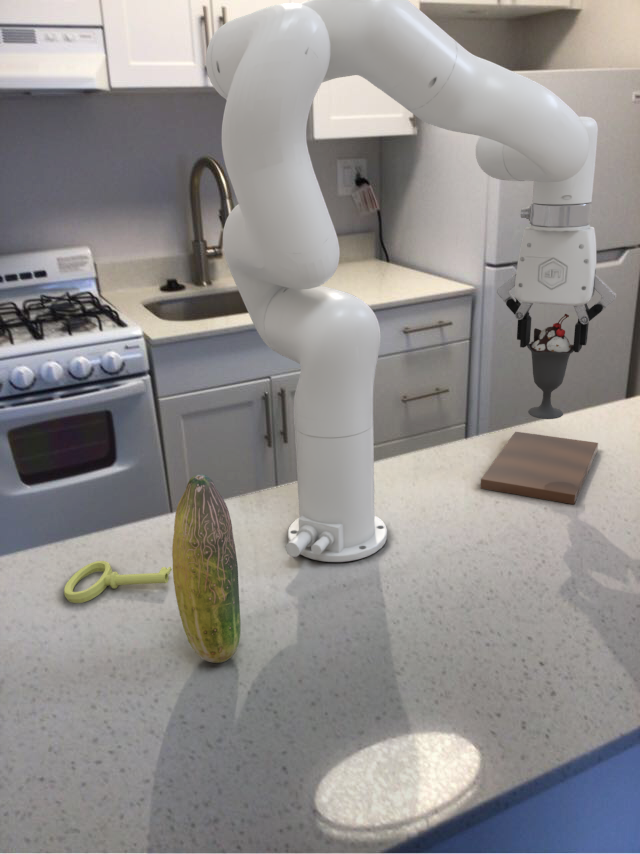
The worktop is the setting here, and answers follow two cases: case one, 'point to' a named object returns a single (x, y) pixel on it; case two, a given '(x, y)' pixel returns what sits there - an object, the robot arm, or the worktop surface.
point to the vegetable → (206, 571)
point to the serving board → (541, 467)
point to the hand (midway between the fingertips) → (550, 346)
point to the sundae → (549, 366)
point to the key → (108, 580)
